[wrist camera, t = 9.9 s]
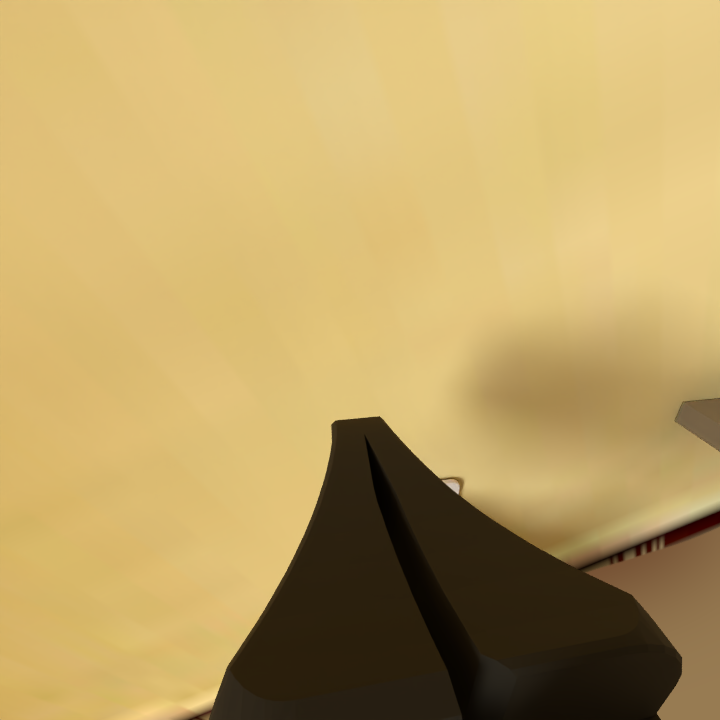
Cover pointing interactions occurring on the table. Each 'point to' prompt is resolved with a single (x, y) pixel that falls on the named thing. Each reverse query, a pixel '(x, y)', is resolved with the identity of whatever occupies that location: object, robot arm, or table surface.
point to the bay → (702, 420)
